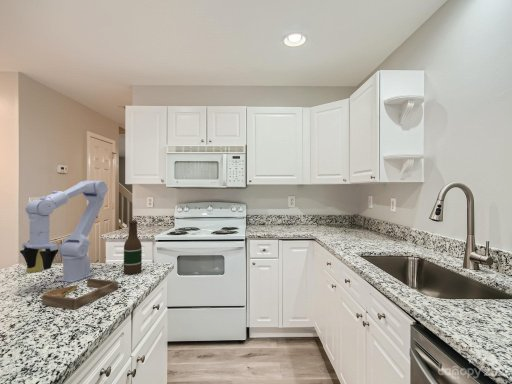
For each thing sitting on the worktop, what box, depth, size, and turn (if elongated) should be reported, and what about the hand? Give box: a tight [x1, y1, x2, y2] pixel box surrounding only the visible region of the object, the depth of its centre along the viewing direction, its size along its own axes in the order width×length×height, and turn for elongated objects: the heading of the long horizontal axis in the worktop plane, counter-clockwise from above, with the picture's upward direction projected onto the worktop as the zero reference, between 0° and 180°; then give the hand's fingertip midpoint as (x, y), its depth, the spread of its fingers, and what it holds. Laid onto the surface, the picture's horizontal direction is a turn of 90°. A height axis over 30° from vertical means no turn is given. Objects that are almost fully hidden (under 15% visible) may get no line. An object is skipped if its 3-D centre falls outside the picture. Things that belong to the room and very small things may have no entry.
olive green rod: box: [25, 239, 44, 274], centre depth 122 cm, size 6×6×14 cm
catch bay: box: [41, 277, 119, 310], centre depth 93 cm, size 18×14×3 cm
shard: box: [42, 284, 79, 297], centre depth 96 cm, size 11×8×2 cm
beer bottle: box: [123, 219, 143, 276], centre depth 121 cm, size 8×8×24 cm
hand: (39, 268), depth 98 cm, fingers open, 7 cm apart
